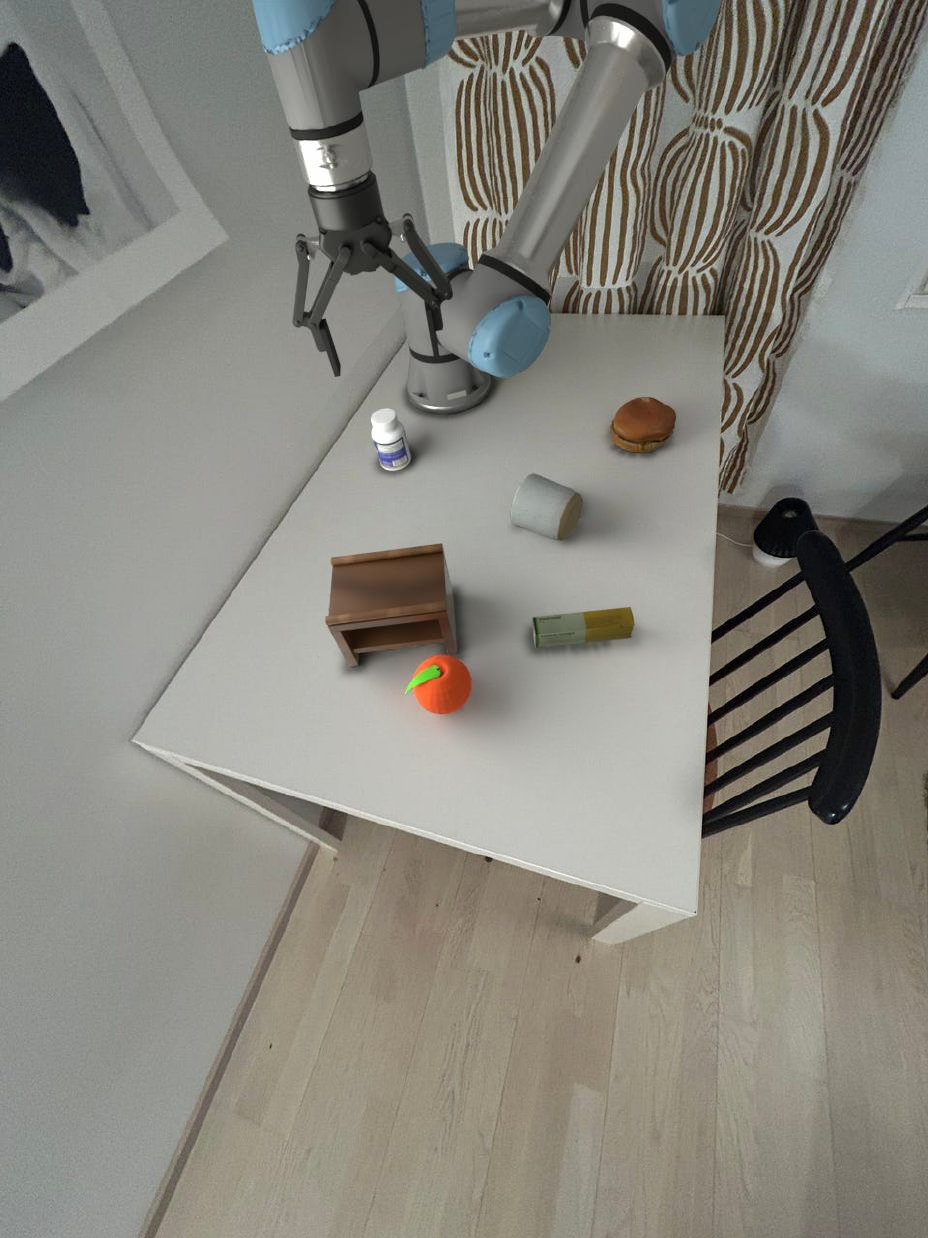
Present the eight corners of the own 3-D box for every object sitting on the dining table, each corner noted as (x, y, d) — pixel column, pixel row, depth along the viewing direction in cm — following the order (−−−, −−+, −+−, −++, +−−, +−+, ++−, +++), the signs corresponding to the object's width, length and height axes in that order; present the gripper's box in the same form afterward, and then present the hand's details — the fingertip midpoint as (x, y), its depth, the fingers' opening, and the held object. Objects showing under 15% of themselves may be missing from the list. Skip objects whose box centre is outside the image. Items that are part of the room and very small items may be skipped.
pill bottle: (384, 450, 99) (371, 405, 92) (414, 450, 98) (403, 404, 91) (377, 471, 96) (363, 426, 89) (408, 472, 95) (396, 426, 88)
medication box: (534, 650, 73) (533, 635, 70) (532, 631, 75) (530, 615, 71) (632, 639, 72) (635, 624, 69) (627, 620, 73) (631, 604, 70)
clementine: (422, 737, 68) (410, 710, 62) (402, 690, 72) (389, 661, 66) (484, 709, 69) (478, 680, 63) (461, 664, 73) (453, 633, 67)
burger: (621, 460, 91) (625, 435, 87) (602, 424, 96) (605, 399, 93) (683, 446, 91) (689, 421, 87) (661, 412, 96) (665, 386, 93)
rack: (352, 604, 81) (330, 556, 72) (452, 592, 80) (441, 541, 72) (349, 666, 75) (324, 621, 67) (457, 653, 74) (445, 606, 66)
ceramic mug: (561, 553, 81) (563, 513, 75) (510, 534, 85) (508, 494, 78) (594, 505, 86) (598, 464, 80) (544, 489, 89) (544, 448, 83)
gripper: (221, 213, 60) (295, 394, 78) (459, 167, 59) (480, 361, 77) (230, 185, 65) (299, 362, 82) (452, 142, 64) (474, 331, 81)
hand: (386, 362), depth 79 cm, fingers open, 13 cm apart
